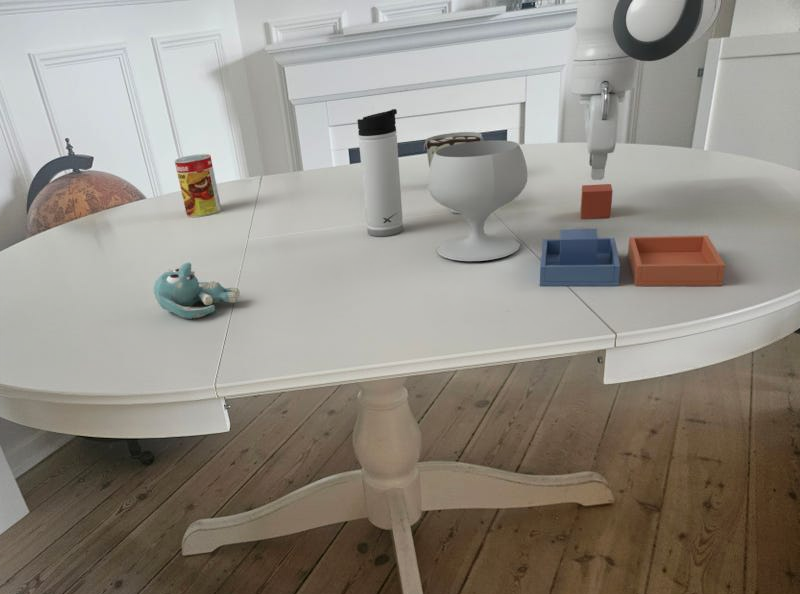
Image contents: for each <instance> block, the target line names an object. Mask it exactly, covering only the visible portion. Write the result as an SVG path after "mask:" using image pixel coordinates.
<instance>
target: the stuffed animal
mask: <svg viewBox="0 0 800 594" xmlns="http://www.w3.org/2000/svg"><path fill="white" fill-rule="evenodd" d="M195 273H196V272H195V271H193V270H192V263H191V262H190V261H189V262H185V263H183V264H182V265H181V266H180V267H178V268H176V269H170V268H168V269H166V270H165V271H164V272H163V273H162V274H161V275H160V276H159V277H158V278H157V279H156V280H155V282H154V285H153V294H154V297H155V300H156V302H157V304H158V305H159V306H160V307H161V308H162V309H163V310H166V311H168V312H171V313H172V314H175V315H177V316H178V317H181V318H182V319H189V320H193V319H198V318H203V317H205V316H207V315H209V314H211V313H214V312H215V311H216V307H215V305H214V303H215V304H216V303H220V302H222V301H223V302H226V303H231V304H232V303H233V304H234V303H236V302H237V300H238V298H239V297H240V293H241V292H240V289H239V288H236V287H227V288H225V287H224V286H222V285H221V283H220V282H219V281H214V280H213V281H205V282H204V281H199V279H198V278H197V277H196V275H195ZM196 301H198V302H200V303H203V304H204V305H205V306H194V305H195V303H196ZM192 318H193V319H192Z"/></svg>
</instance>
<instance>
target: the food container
mask: <svg viewBox="0 0 800 594" xmlns="http://www.w3.org/2000/svg"><path fill="white" fill-rule="evenodd" d="M475 141H485V140H484V137H483V135H482V133H481V132H476V131H458V132H449V133H441V134H438V135H437V134H436V135H433V136H431V137H427V138H426V139H425V142H424V144H423V151H426V153H427V161H428V167H429V169H430V165H431V161H432V158H433V156H434V154H435V152H436V151H437V150H439V149H441V148H444V147H447V146H451V145H455V144H460V143H467V142H475Z"/></svg>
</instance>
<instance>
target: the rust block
mask: <svg viewBox="0 0 800 594" xmlns="http://www.w3.org/2000/svg"><path fill="white" fill-rule="evenodd" d="M613 192H614V191H613V186H612V184H611V183H603V184H600V183H599V184H583V185H581V197H580V219H581V220H584V219H586V220H587V219H609V218H608V217H610V218H611V215H612V203H613Z"/></svg>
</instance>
